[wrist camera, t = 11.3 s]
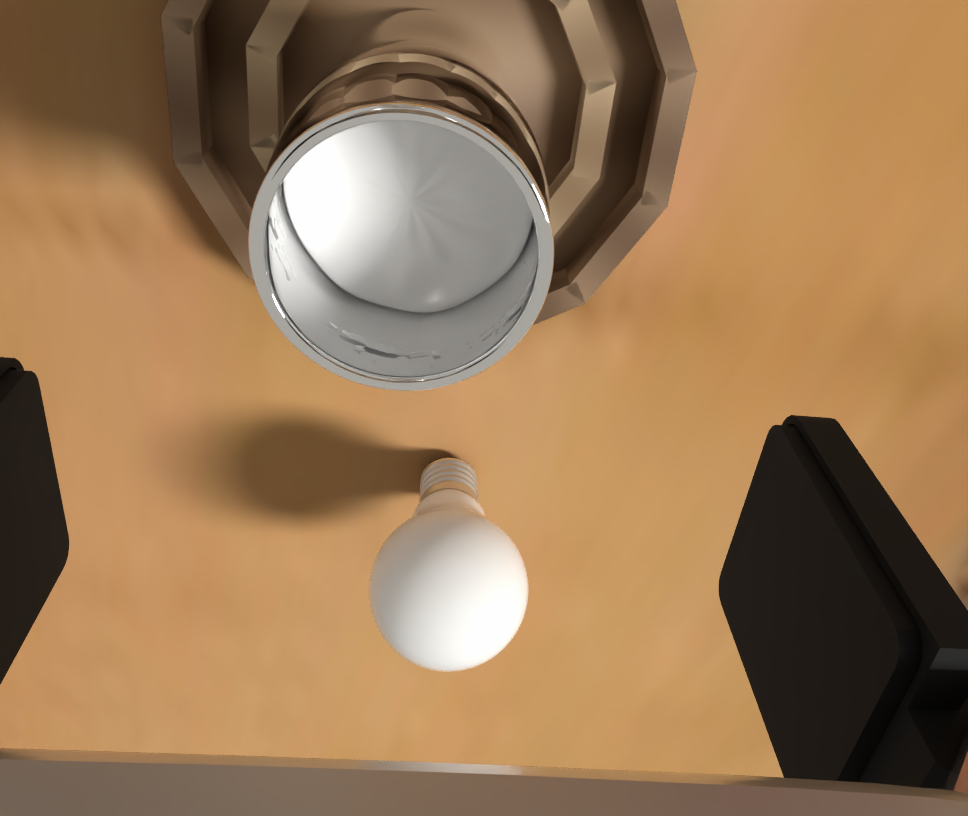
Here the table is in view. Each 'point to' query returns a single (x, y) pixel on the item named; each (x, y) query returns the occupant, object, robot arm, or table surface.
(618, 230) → the tray
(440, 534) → the lightbulb
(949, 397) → the table surface
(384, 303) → the beer glass
